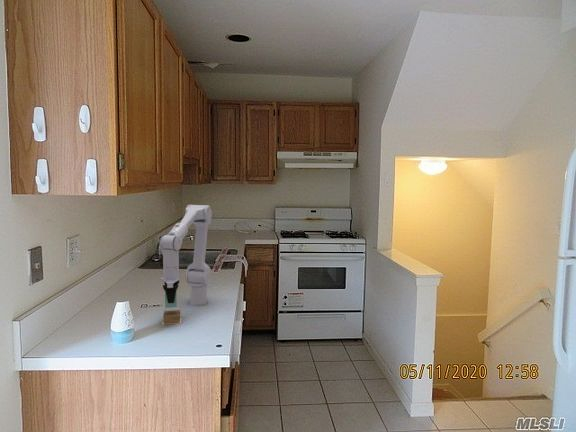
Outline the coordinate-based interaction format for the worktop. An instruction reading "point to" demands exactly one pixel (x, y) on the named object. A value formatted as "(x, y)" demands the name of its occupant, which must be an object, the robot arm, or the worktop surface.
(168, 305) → the teal block
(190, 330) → the worktop surface
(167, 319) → the walnut slab
